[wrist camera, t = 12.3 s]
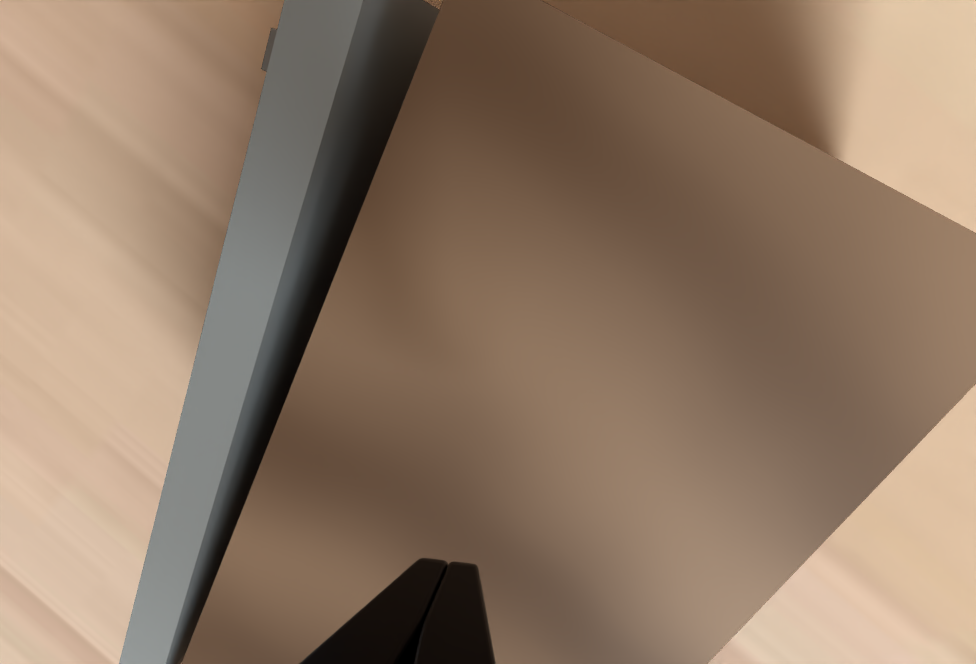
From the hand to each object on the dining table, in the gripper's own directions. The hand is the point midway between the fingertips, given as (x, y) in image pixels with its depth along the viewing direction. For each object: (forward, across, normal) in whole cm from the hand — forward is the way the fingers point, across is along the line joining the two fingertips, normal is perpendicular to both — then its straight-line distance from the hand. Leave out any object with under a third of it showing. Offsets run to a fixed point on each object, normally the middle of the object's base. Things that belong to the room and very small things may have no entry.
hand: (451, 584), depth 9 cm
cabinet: (+12, 0, +3) cm, 13 cm away
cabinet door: (+12, +7, 0) cm, 13 cm away
